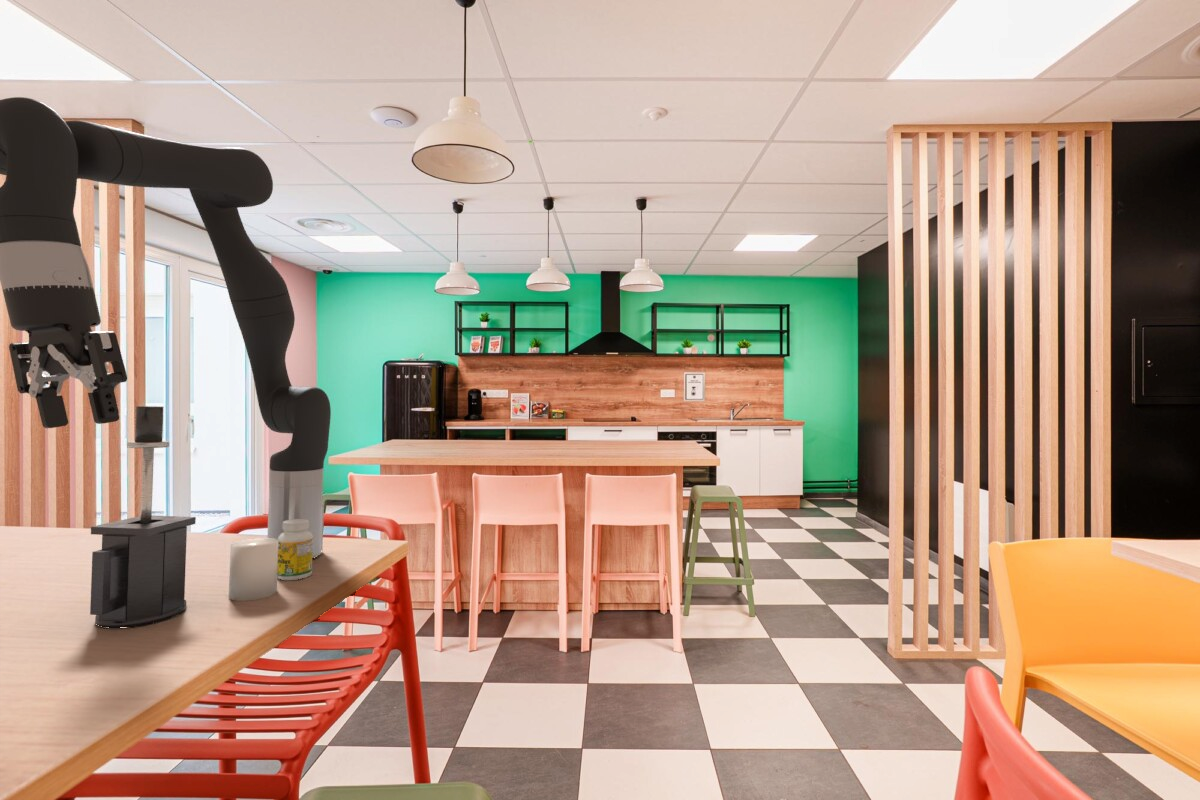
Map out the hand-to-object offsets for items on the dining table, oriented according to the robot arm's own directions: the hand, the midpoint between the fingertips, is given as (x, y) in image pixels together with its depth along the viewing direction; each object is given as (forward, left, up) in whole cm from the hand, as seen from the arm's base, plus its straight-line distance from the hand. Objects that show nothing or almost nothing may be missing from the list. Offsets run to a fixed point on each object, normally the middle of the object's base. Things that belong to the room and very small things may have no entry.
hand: (81, 424), depth 65 cm
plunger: (-12, -3, -19) cm, 22 cm away
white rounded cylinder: (-22, +6, -27) cm, 35 cm away
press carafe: (-12, -3, -27) cm, 30 cm away
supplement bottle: (-31, +7, -27) cm, 42 cm away
